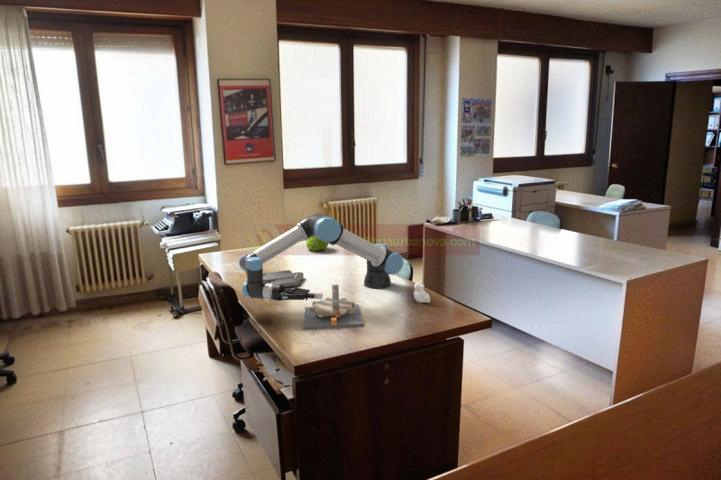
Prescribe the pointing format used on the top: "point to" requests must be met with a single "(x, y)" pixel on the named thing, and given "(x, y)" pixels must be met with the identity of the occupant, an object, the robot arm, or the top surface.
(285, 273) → the grey flat lobed piece
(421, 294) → the duck figurine
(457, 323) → the top surface
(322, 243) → the lettuce
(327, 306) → the white lobed piece
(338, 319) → the sprocket stand
